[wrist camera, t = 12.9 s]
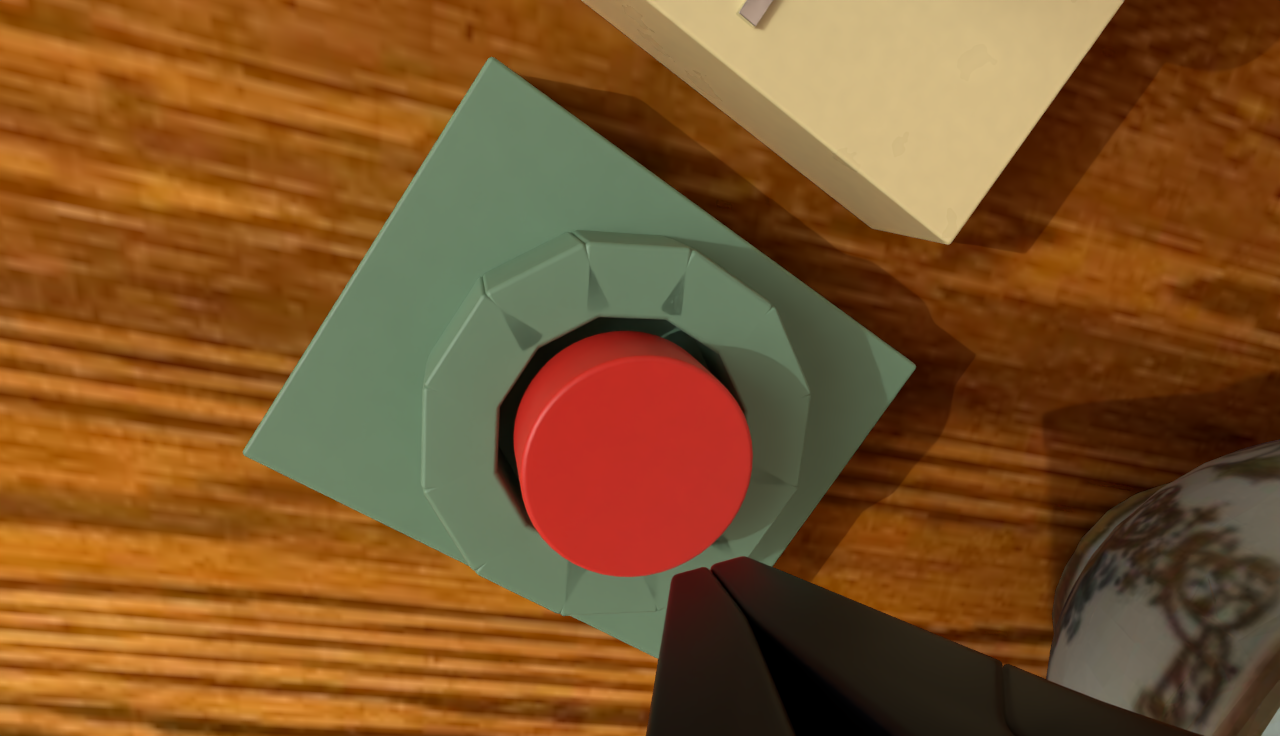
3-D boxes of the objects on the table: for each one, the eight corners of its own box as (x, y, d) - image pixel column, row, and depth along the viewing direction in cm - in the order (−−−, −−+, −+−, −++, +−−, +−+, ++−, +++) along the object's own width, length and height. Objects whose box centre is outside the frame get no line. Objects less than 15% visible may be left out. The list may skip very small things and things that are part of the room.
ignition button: (471, 469, 13) (473, 514, 12) (590, 288, 13) (610, 309, 11) (645, 562, 15) (668, 615, 13) (759, 398, 14) (799, 431, 13)
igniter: (268, 414, 16) (209, 498, 12) (486, 66, 15) (495, 41, 11) (668, 620, 19) (719, 737, 16) (867, 341, 18) (972, 392, 15)
